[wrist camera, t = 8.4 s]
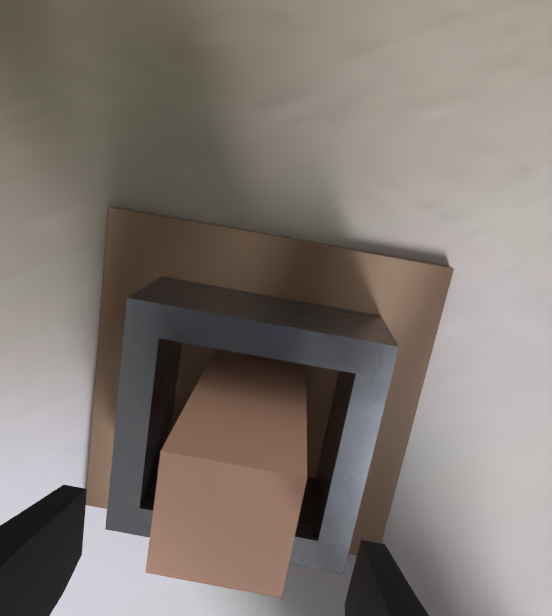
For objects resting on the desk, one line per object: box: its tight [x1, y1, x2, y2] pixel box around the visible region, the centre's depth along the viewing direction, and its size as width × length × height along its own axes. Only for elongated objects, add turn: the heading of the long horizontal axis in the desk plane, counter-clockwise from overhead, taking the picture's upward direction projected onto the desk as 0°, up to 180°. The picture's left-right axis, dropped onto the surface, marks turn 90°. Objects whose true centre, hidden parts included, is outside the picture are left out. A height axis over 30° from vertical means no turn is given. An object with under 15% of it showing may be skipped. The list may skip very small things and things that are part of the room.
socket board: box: [86, 207, 454, 573], centre depth 20 cm, size 14×14×4 cm
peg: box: [146, 352, 307, 598], centre depth 17 cm, size 4×4×8 cm
